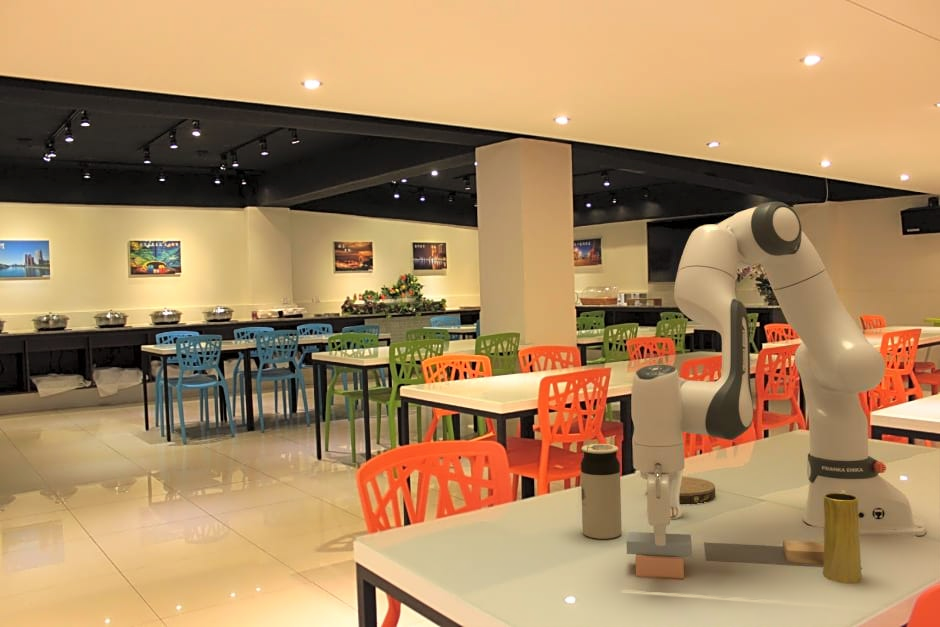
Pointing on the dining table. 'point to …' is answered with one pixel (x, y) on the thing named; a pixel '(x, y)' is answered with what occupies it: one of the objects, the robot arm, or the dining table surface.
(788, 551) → the oak board
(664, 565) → the orange frame
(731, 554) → the mat
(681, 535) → the slate board
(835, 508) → the vase
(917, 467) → the dining table surface
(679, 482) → the beer glass
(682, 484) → the wood slice coaster
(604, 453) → the travel mug
